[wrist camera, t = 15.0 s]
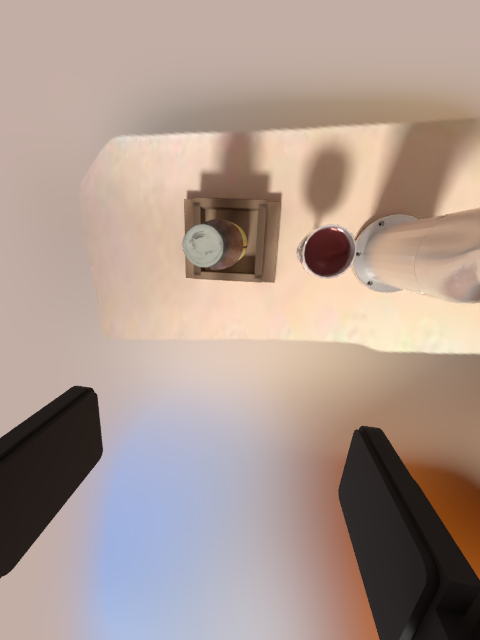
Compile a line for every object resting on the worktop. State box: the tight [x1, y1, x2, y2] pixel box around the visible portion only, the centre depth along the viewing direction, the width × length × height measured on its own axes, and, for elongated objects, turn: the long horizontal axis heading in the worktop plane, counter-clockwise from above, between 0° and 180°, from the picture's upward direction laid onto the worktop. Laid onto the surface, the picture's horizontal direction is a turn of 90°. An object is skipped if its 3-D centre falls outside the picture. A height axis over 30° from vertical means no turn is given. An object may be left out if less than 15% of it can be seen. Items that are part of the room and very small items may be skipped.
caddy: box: [184, 198, 281, 283], centre depth 41 cm, size 16×13×4 cm
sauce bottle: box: [183, 218, 248, 270], centre depth 32 cm, size 7×6×20 cm
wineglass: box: [297, 224, 357, 279], centre depth 36 cm, size 7×7×12 cm
